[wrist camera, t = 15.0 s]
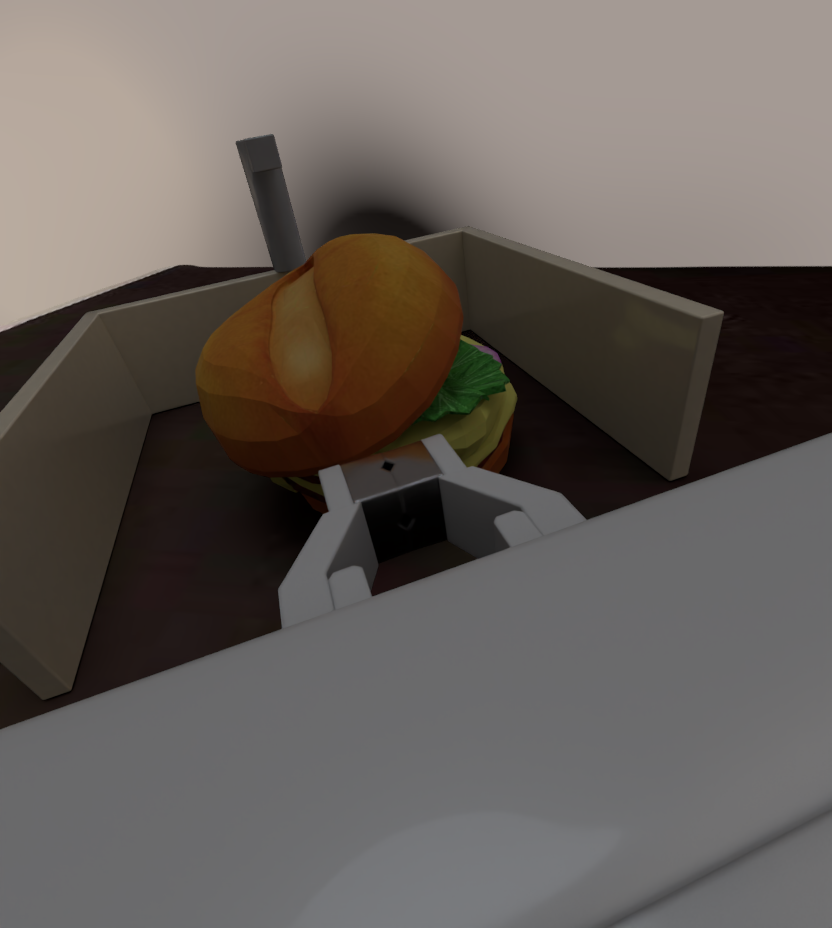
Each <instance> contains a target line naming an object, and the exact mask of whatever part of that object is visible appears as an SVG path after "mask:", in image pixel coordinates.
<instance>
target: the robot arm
mask: <svg viewBox="0 0 832 928" xmlns="http://www.w3.org/2000/svg"><path fill="white" fill-rule="evenodd" d="M340 466H341V467H340ZM318 474H319V478H320V482H321V485H322V489H323V493H324V496H325V500H326V503H327V507H328V511H329V512H327V513H324V514H323V515H322V516H321V518H320V520H319V521H318V523H317V525H316V527H315V528H314V530H313V532H312V533H311V535H310V537H309V538H308V540H307V542H306V543H305V545H304V547H303V548H302V550H301V552H300V553H299V555H298V557H297V558H296V560H295V562H294V563H293V565H292V567H291V569H290V570H289V572H288V574H287V575H286V577H285V579H284V580H283V582H282V584H281V585H280V587H279V589H278V594H279V604H280V613H281V623H282V629H281V630H278V631H275V632H272V633H269V634H267V635H264V636H261V637H258V638H255V639H252V640H250V641H247V642H244V643H241V644H238V645H236V646H233V647H230V648H227V649H224V650H222V651H219V652H216V653H213V654H210V655H208V656H205V657H202V658H199V659H196V660H194V661H191V662H188V663H185V664H182V665H180V666H177V667H174V668H171V669H168V670H166V671H163V672H160V673H157V674H154V675H152V676H149V677H146V678H143V679H140V680H138V681H135V682H132V683H129V684H126V685H124V686H121V687H118V688H115V689H112V690H110V691H107V692H104V693H101V694H98V695H96V696H93V697H90V698H87V699H84V700H82V701H79V702H76V703H73V704H70V705H68V706H65V707H62V708H59V709H56V710H54V711H51V712H48V713H45V714H42V715H40V716H37V717H34V718H31V719H28V720H26V721H23V722H20V723H17V724H14V725H12V726H9V727H6V728H3V729H0V928H832V433H830V434H827V435H824V436H821V437H818V438H816V439H813V440H810V441H807V442H804V443H802V444H799V445H796V446H793V447H790V448H788V449H785V450H782V451H779V452H776V453H774V454H771V455H768V456H765V457H762V458H760V459H757V460H754V461H751V462H748V463H746V464H743V465H740V466H737V467H734V468H732V469H729V470H726V471H723V472H720V473H718V474H715V475H712V476H709V477H706V478H704V479H701V480H698V481H695V482H692V483H690V484H687V485H684V486H681V487H678V488H676V489H673V490H670V491H667V492H664V493H661V494H659V495H656V496H653V497H650V498H647V499H645V500H642V501H639V502H636V503H633V504H631V505H628V506H625V507H622V508H619V509H617V510H614V511H611V512H608V513H605V514H603V515H600V516H597V517H594V518H592V519H589V520H586V519H585V518H584V517H583V516H582V515H581V514H580V513H579V512H578V511H577V510H576V508H575V507H574V506H573V505H572V504H571V503H570V502H569V501H568V500H567V499H566V498H565V497H564V496H563V495H562V494H561V493H558V492H555V491H552V490H549V489H546V488H542V487H539V486H536V485H533V484H529V483H526V482H523V481H520V480H516V479H513V478H510V477H507V476H503V475H500V474H497V473H494V472H490V471H487V470H484V469H481V468H477V467H474V466H471V467H468V468H467V467H466V466H465V464H464V463H463V462H462V460H461V459H460V458H459V456H458V455H457V454H456V452H455V451H454V450H453V448H452V447H451V446H450V444H449V443H448V442H447V440H446V439H445V438H444V436H443V435H442V434H437V435H434V436H431V437H428V438H425V439H422V440H420V441H417V442H414V443H411V444H408V445H405V446H402V447H399V448H396V449H393V450H389V451H386V452H383V453H378V454H374V455H371V456H367V457H364V458H360V459H357V460H353V461H350V462H346V463H343V464H340V465H335V466H332V467H329V468H326V469H323V470H319V471H318ZM445 540H448V541H449V542H450V543H452V544H454V545H455V546H457V547H459V548H461V549H462V550H464V551H466V552H468V553H469V554H471V555H473V556H475V557H476V558H478V559H477V560H474V561H471V562H468V563H466V564H463V565H460V566H457V567H454V568H452V569H449V570H446V571H443V572H440V573H437V574H435V575H432V576H429V577H426V578H423V579H421V580H418V581H415V582H412V583H409V584H407V585H404V586H401V587H398V588H395V589H393V590H390V591H387V592H384V593H381V594H379V595H376V596H373V597H372V595H371V589H372V586H373V582H374V579H375V576H376V573H377V569H378V566H379V565H378V563H381V562H384V561H386V560H389V559H392V558H394V557H397V556H400V555H402V554H405V553H408V552H410V551H413V550H416V549H419V548H423V547H426V546H429V545H432V544H435V543H438V542H442V541H445Z"/></svg>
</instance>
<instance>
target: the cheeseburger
mask: <svg viewBox="0 0 832 928" xmlns="http://www.w3.org/2000/svg"><path fill="white" fill-rule="evenodd" d="M463 318H464V316H463V312H462V307H461V303H460V298H459V293H458V290H457V287H456V284H455V283H454V282H453V281H452V280H451V279H450V278H449V277H448V275H447V274H446V273H445V272H444V271H443V270H442V269H441V268H440V267H439V266H438V265H437V264H436V263H435V262H434V261H433V260H432V259H431V258H430V257H429V256H428V255H427V254H426V253H425V252H424V251H423V250H421V249H419V248H417V247H415V246H413V245H411V244H409V243H407V242H405V241H403V240H402V239H400V238H398V237H396V236H389V235H382V234H352V235H347V236H341V237H338V238H336V239H334V240H331V241H329V242H327V243H326V244H324V245H323V246H322V247H320V248H319V249H317V250H316V251H315V252H314V253H313V254H312V256H311V257H310V258H309V259H308V260H307V261H306V263H305V264H303V265H301V266H300V267H298V268H296V269H294V270H293V271H291V272H290V273H288V274H287V275H285V276H284V277H282V278H281V279H279V280H278V281H276V282H275V283H273V284H272V285H270V286H269V287H268V288H266V289H265V290H264V291H262V292H261V293H260V294H258V295H257V296H256V297H254V298H253V299H252V300H251V301H249V302H248V303H247V304H245V305H244V306H243V307H241V308H240V309H239V310H238V311H236V312H235V313H234V314H233V315H232V316H230V317H229V318H228V319H227V320H226V321H225V322H224V323H223V324H222V325H221V326H220V327H218V328H217V329H216V330H215V331H214V332H213V333H212V334H211V336H210V337H209V339H208V341H207V342H206V344H205V346H204V347H203V349H202V352H201V355H200V358H199V361H198V363H197V366H196V369H195V375H196V387H197V391H198V396H199V400H200V404H201V409H202V413H203V418H204V419H205V421H206V423H207V424H208V426H209V427H210V429H211V430H212V432H213V433H214V435H215V437H216V438H217V440H218V441H219V443H220V444H221V446H222V447H223V449H224V450H225V452H226V454H227V455H228V457H229V458H230V459H231V460H232V461H233V462H234V463H236V464H237V465H238V466H240V467H242V468H244V469H245V470H247V471H249V472H250V473H253V474H257V475H261V476H265V477H269V478H270V479H271V480H272V482H274V483H276V484H278V485H280V486H282V487H284V488H286V489H288V490H290V491H292V492H295V493H297V492H301V494H302V495H303V496H304V498H305V499H306V500H307V502H308V503H309V504H310V505H311V507H312V508H313V509H314V510H316V511H319V512H321V513H323V514H324V513H327V512H329V511H328V507H327V503H326V500H325V496H324V493H323V489H322V485H321V482H320V478H319V474H318V471H319V470H323V469H326V468H329V467H332V466H335V465H340V464H343V463H346V462H350V461H353V460H357V459H360V458H364V457H367V456H371V455H374V454H378V453H383V452H386V451H389V450H393V449H396V448H399V447H402V446H405V445H408V444H411V443H414V442H417V441H420V440H422V439H425V438H428V437H431V436H434V435H437V434H442V435H443V436H444V438H445V439H446V440H447V442H448V443H449V444H450V446H451V447H452V448H453V450H454V451H455V452H456V454H457V455H458V456H459V458H460V459H461V460H462V462H463V463H464V464H465V466H466V467H467V468H468V467H471V466H474V467H477V468H481V469H484V470H487V471H490V472H494V473H497V474H499V472H500V471H501V469H502V468H503V467H504V465H505V464H506V462H507V457H508V451H509V445H510V439H511V432H512V425H513V417H514V414H513V412H514V409H515V405H516V401H517V395H516V393H515V391H514V389H513V387H512V385H511V383H510V380H509V379H508V378H507V377H506V376H505V375H504V371H503V366H502V363H501V361H500V358H499V356H498V353H496V352H495V351H493V350H491V349H490V348H488V347H485V346H483V345H481V344H479V343H477V342H476V341H474V340H472V339H470V338H467V337H465V336H462V335H461V331H462V324H463ZM340 467H341V466H340Z"/></svg>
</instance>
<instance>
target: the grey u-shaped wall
mask: <svg viewBox="0 0 832 928" xmlns="http://www.w3.org/2000/svg"><path fill="white" fill-rule="evenodd" d="M236 145H237V149H238V152H239V155H240V158H241V162H242V165H243V168H244V172H245V175H246V178H247V182H248V185H249V188H250V191H251V195H252V198H253V201H254V205H255V208H256V211H257V215H258V218H259V221H260V224H261V227H262V231H263V234H264V237H265V241H266V244H267V247H268V251H269V254H270V257H271V261H272V264H273V267H274V270H273V271H269V272H264V273H260V274H256V275H251V276H247V277H242V278H238V279H234V280H229V281H225V282H220V283H216V284H212V285H207V286H203V287H198V288H194V289H190V290H185V291H181V292H176V293H172V294H168V295H163V296H159V297H154V298H150V299H146V300H141V301H137V302H132V303H128V304H123V305H119V306H115V307H110V308H106V309H101V310H97V311H92V312H88V313H86V314H85V315H84V316H83V317H82V318H81V320H80V321H79V322H78V323H77V324H76V325H75V327H74V328H73V329H72V330H71V331H70V332H69V334H68V335H67V336H66V337H65V338H64V339H63V340H62V342H61V343H60V344H59V345H58V346H57V347H56V349H55V350H54V351H53V352H52V353H51V354H50V356H49V357H48V358H47V359H46V360H45V361H44V362H43V364H42V365H41V366H40V367H39V368H38V369H37V371H36V372H35V373H34V374H33V375H32V376H31V378H30V379H29V380H28V381H27V382H26V383H25V384H24V386H23V387H22V388H21V389H20V390H19V391H18V393H17V394H16V395H15V396H14V397H13V398H12V400H11V401H10V402H9V403H8V404H7V405H6V406H5V408H4V409H3V410H2V411H1V412H0V663H1V664H2V665H3V666H5V667H6V668H7V669H8V670H9V671H10V672H11V673H12V674H14V675H15V676H16V677H17V678H18V679H19V680H20V681H22V682H23V683H24V684H25V685H26V686H27V687H28V688H29V689H31V690H32V691H33V692H34V693H35V694H36V695H37V696H38V697H40V698H41V699H42V700H46V699H49V698H52V697H54V696H57V695H60V694H63V693H66V692H69V691H71V689H72V687H73V683H74V680H75V676H76V673H77V670H78V666H79V663H80V659H81V656H82V652H83V649H84V646H85V642H86V639H87V635H88V632H89V628H90V625H91V622H92V618H93V615H94V611H95V608H96V604H97V601H98V598H99V594H100V591H101V587H102V584H103V580H104V577H105V574H106V570H107V567H108V563H109V560H110V556H111V553H112V550H113V546H114V543H115V539H116V536H117V532H118V529H119V526H120V522H121V519H122V515H123V512H124V508H125V505H126V502H127V498H128V495H129V491H130V488H131V484H132V481H133V478H134V474H135V471H136V467H137V464H138V460H139V457H140V454H141V450H142V447H143V443H144V440H145V436H146V433H147V430H148V426H149V423H150V419H151V416H152V414H154V413H158V412H162V411H166V410H169V409H173V408H177V407H181V406H184V405H188V404H192V403H196V402H199V401H200V400H199V396H198V391H197V387H196V375H195V369H196V366H197V363H198V361H199V358H200V355H201V352H202V349H203V347H204V346H205V344H206V342H207V341H208V339H209V337H210V336H211V334H212V333H213V332H214V331H215V330H216V329H217V328H218V327H220V326H221V325H222V324H223V323H224V322H225V321H226V320H227V319H228V318H229V317H230V316H232V315H233V314H234V313H235V312H236V311H238V310H239V309H240V308H241V307H243V306H244V305H245V304H247V303H248V302H249V301H251V300H252V299H253V298H254V297H256V296H257V295H258V294H260V293H261V292H262V291H264V290H265V289H266V288H268V287H269V286H270V285H272V284H273V283H275V282H276V281H278V280H279V279H281V278H282V277H284V276H285V275H287V274H288V273H290V272H291V271H293V270H294V269H296V268H298V267H300V266H301V265H303V264H305V263H306V259H305V255H304V251H303V247H302V244H301V240H300V236H299V232H298V228H297V225H296V221H295V217H294V214H293V210H292V206H291V202H290V198H289V195H288V191H287V187H286V183H285V179H284V175H283V172H282V165H281V161H280V157H279V153H278V149H277V146H276V142H275V138H274V135H273V134H270V135H264V136H259V137H253V138H248V139H244V140H240V141H236ZM405 242H407V243H409V244H411V245H413V246H415V247H417V248H419V249H421V250H423V251H424V252H425V253H426V254H427V255H428V256H429V257H430V258H431V259H432V260H433V261H434V262H435V263H436V264H437V265H438V266H439V267H440V268H441V269H442V270H443V271H444V272H445V273H446V274H447V275H448V277H449V278H450V279H451V280H452V281H453V282H454V283H455V284H456V287H457V290H458V293H459V298H460V303H461V307H462V312H463V316H464V318H463V324H462V331H466V330H471V331H473V332H474V333H475V334H477V335H478V336H479V337H481V338H482V339H483V340H485V341H486V342H487V343H489V344H490V345H491V346H492V347H494V348H495V349H496V350H498V351H499V352H500V353H502V354H503V355H504V356H506V357H507V358H508V359H510V360H511V361H512V362H514V363H515V364H516V365H517V366H519V367H520V368H521V369H523V370H524V371H525V372H527V373H528V374H529V375H531V376H532V377H533V378H535V379H536V380H537V381H538V382H540V383H541V384H542V385H544V386H545V387H546V388H548V389H549V390H550V391H552V392H553V393H554V394H556V395H557V396H558V397H559V398H561V399H562V400H563V401H565V402H566V403H567V404H569V405H570V406H571V407H573V408H574V409H575V410H577V411H578V412H579V413H580V414H582V415H583V416H584V417H586V418H587V419H588V420H590V421H591V422H592V423H594V424H595V425H596V426H598V427H599V428H600V429H601V430H603V431H604V432H605V433H607V434H608V435H609V436H611V437H612V438H613V439H615V440H616V441H617V442H619V443H620V444H621V445H622V446H624V447H625V448H626V449H628V450H629V451H630V452H632V453H633V454H634V455H636V456H637V457H638V458H640V459H641V460H642V461H643V462H645V463H646V464H647V465H649V466H650V467H651V468H653V469H654V470H655V471H657V472H658V473H659V474H661V475H662V476H663V477H664V478H666V479H667V480H668V481H672V480H675V479H678V478H681V477H683V476H686V475H687V474H688V471H689V466H690V462H691V457H692V453H693V448H694V444H695V440H696V435H697V431H698V426H699V422H700V417H701V413H702V408H703V404H704V400H705V395H706V391H707V386H708V382H709V377H710V373H711V369H712V364H713V360H714V355H715V351H716V346H717V342H718V337H719V333H720V329H721V324H722V320H723V315H724V312H723V311H721V310H718V309H715V308H712V307H709V306H706V305H703V304H700V303H697V302H694V301H691V300H688V299H685V298H682V297H679V296H676V295H673V294H670V293H667V292H664V291H661V290H658V289H655V288H652V287H649V286H646V285H643V284H640V283H637V282H634V281H631V280H628V279H625V278H622V277H619V276H616V275H613V274H610V273H607V272H604V271H601V270H598V269H595V268H592V267H589V266H586V265H583V264H580V263H577V262H574V261H571V260H568V259H565V258H562V257H559V256H556V255H553V254H550V253H547V252H544V251H541V250H538V249H535V248H532V247H529V246H526V245H523V244H520V243H517V242H514V241H511V240H508V239H506V238H503V237H500V236H496V235H494V234H491V233H488V232H485V231H481V230H478V229H475V228H473V227H470V226H467V227H463V228H458V229H454V230H449V231H445V232H441V233H436V234H432V235H427V236H424V237H419V238H414V239H410V240H405ZM462 331H461V332H462Z"/></svg>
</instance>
